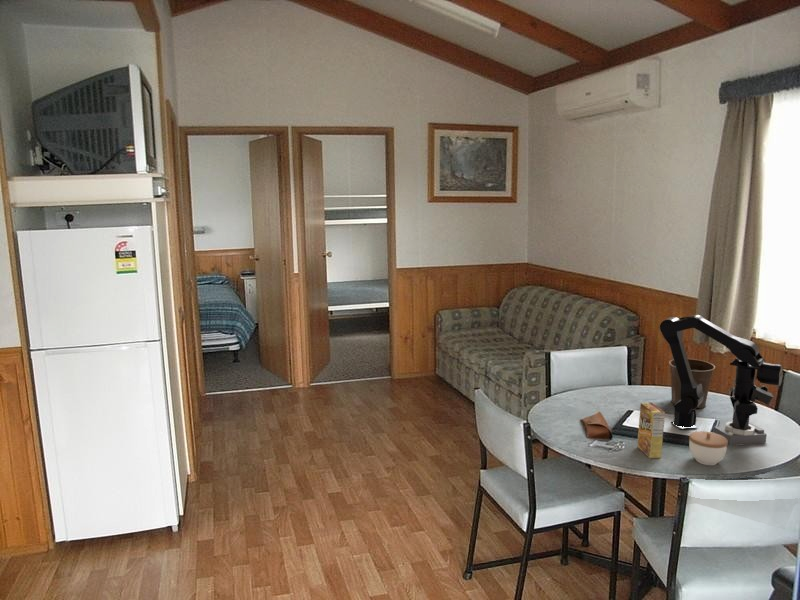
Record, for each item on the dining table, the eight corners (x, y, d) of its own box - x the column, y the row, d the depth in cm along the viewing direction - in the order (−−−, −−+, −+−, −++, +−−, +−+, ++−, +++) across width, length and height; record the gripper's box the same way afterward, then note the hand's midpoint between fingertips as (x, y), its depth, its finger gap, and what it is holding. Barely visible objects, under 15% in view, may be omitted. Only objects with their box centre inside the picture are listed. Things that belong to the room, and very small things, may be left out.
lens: (749, 434, 212) (751, 410, 210) (732, 432, 214) (734, 408, 212) (747, 428, 217) (749, 405, 215) (730, 426, 218) (732, 404, 217)
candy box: (636, 447, 210) (639, 402, 207) (648, 446, 210) (652, 402, 207) (649, 458, 201) (652, 412, 198) (662, 457, 201) (665, 411, 199)
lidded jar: (716, 454, 204) (719, 426, 202) (731, 469, 194) (734, 440, 192) (682, 453, 205) (684, 425, 203) (695, 468, 194) (697, 439, 192)
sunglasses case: (578, 418, 234) (588, 404, 232) (594, 428, 234) (605, 414, 232) (587, 438, 216) (598, 423, 215) (605, 449, 216) (616, 433, 215)
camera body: (730, 445, 210) (731, 432, 209) (712, 434, 219) (714, 422, 218) (765, 442, 212) (767, 430, 212) (747, 432, 221) (748, 419, 220)
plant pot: (711, 414, 238) (715, 372, 235) (664, 407, 245) (667, 367, 242) (711, 400, 253) (715, 361, 249) (667, 394, 259) (670, 356, 256)
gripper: (778, 391, 200) (772, 438, 203) (767, 374, 218) (762, 417, 221) (738, 387, 204) (733, 433, 207) (731, 370, 221) (726, 413, 224)
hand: (740, 424), depth 215 cm, fingers open, 8 cm apart
